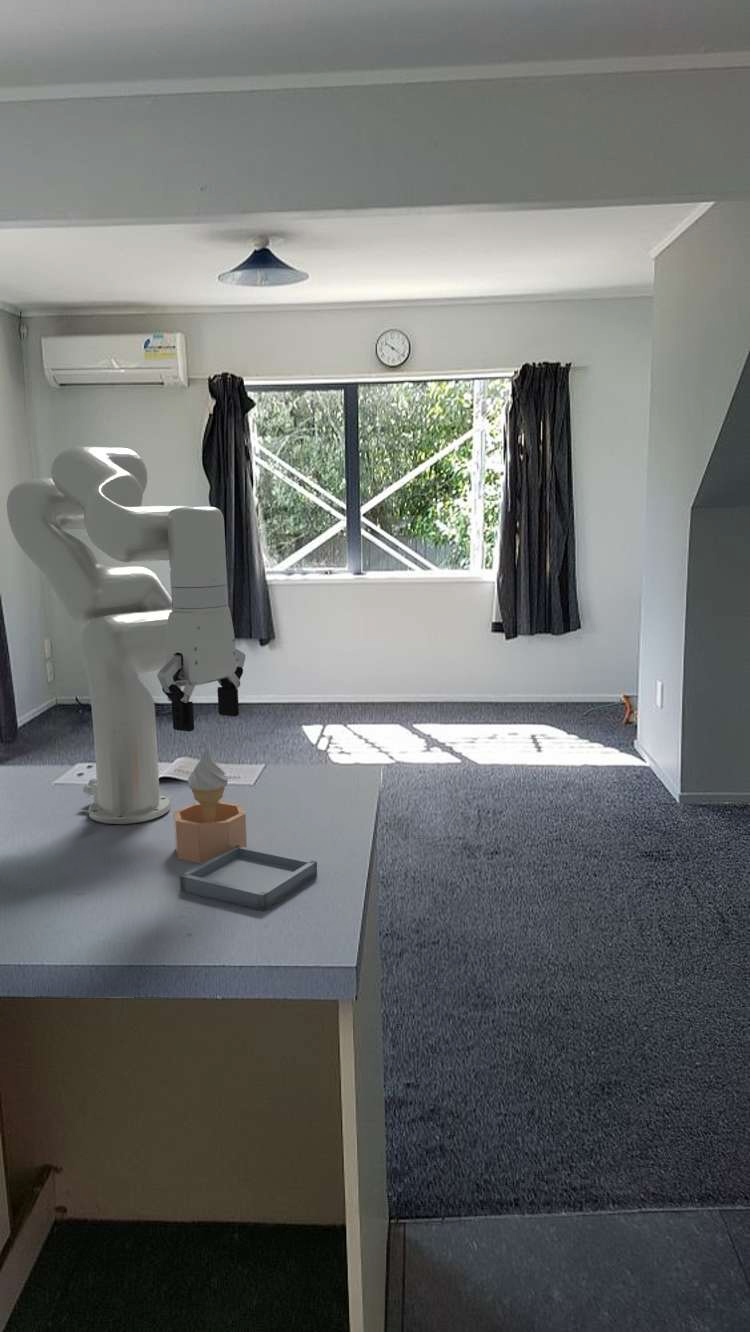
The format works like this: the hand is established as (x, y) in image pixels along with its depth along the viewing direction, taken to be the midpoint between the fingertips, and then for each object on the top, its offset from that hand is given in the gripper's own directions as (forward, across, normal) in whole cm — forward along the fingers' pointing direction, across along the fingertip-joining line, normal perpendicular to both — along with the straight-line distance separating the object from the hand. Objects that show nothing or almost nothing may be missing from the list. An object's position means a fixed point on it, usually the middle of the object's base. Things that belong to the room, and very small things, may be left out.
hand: (207, 722), depth 132 cm
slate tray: (+19, +7, +11) cm, 23 cm away
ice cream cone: (+19, 0, -1) cm, 19 cm away
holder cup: (+19, 0, -1) cm, 19 cm away
